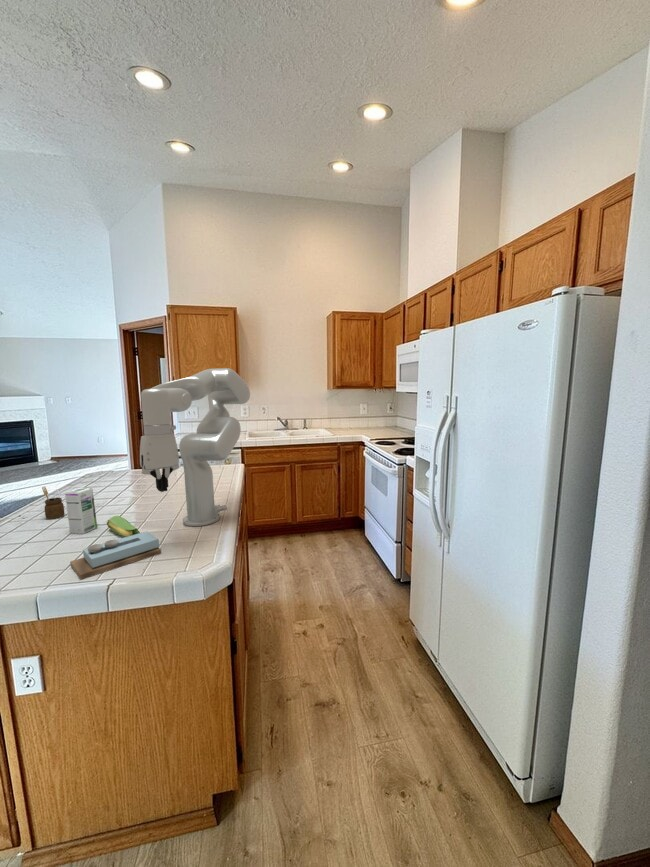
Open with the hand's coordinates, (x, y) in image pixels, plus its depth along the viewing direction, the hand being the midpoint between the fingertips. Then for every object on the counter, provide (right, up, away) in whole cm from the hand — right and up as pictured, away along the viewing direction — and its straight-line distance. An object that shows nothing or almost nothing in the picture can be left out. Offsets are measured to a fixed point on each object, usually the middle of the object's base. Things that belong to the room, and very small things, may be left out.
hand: (162, 490), depth 111 cm
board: (-9, -18, -8) cm, 22 cm away
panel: (-8, -16, -7) cm, 20 cm away
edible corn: (-18, -17, +11) cm, 26 cm away
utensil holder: (-54, -15, +29) cm, 63 cm away
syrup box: (-34, -16, +15) cm, 40 cm away
